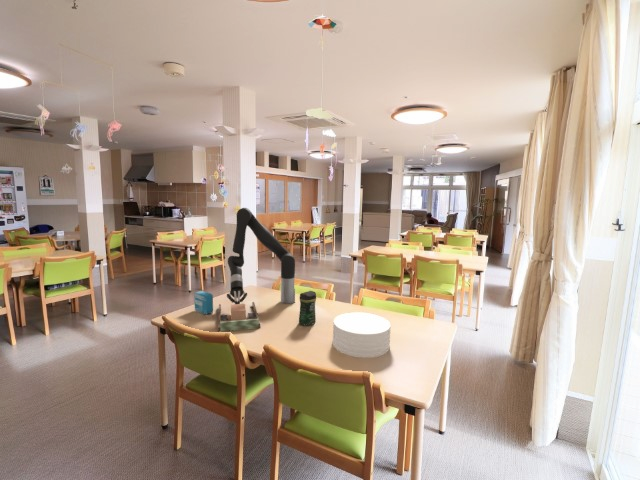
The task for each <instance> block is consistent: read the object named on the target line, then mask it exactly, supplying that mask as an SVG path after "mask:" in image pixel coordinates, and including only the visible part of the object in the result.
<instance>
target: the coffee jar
mask: <svg viewBox="0 0 640 480" xmlns="http://www.w3.org/2000/svg"><path fill="white" fill-rule="evenodd" d="M316 300H317V293H316V292H315V291H313V290H309V291H305V292H301V293H300V294H299V303H300V304H299V305H300V306H299V315H298V316H299V317H298V323H299V324H300V325H301V326H311V325H313V324H315V323H316V321H317V320H316Z"/></svg>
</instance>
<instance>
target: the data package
mask: <svg viewBox="0 0 640 480" xmlns="http://www.w3.org/2000/svg"><path fill="white" fill-rule="evenodd" d="M193 296H194V297H193V299H194V311H195V312H197V313H201V314H204V315H209V314H211V313H213V311H214V295H213V293H210V292H207V291H203V290H199V291H196V292H194V295H193Z"/></svg>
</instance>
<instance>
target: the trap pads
mask: <svg viewBox="0 0 640 480" xmlns="http://www.w3.org/2000/svg"><path fill="white" fill-rule="evenodd" d="M228 317H229V316H228V314H221V321H229V320H228V319H229V318H228ZM247 317H248V319H256V317H255V313H254V312H247Z"/></svg>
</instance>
